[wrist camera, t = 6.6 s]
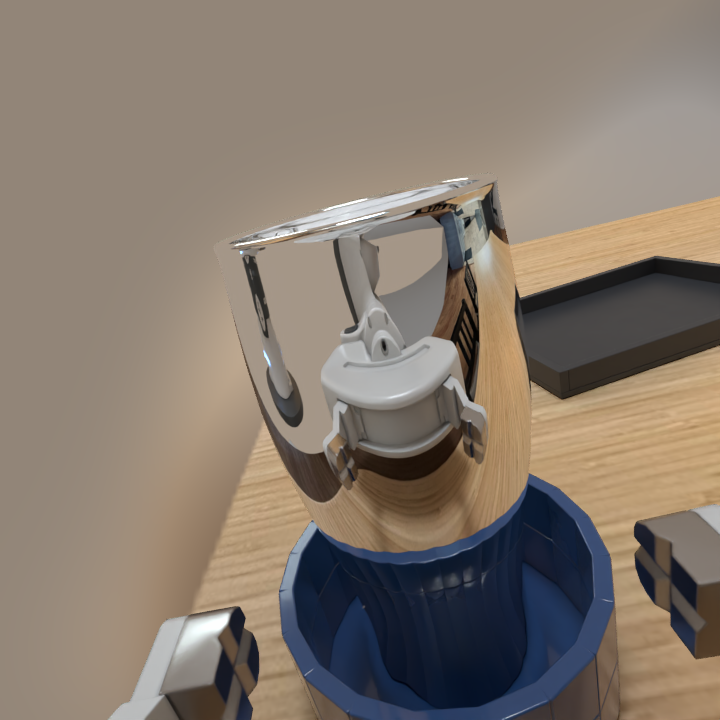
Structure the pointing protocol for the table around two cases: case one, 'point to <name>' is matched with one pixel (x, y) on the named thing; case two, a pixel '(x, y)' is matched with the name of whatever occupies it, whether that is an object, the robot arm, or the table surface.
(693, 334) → the tray
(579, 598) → the bowl
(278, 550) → the table surface
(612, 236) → the table surface
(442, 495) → the silver goblet
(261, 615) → the table surface
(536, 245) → the table surface
